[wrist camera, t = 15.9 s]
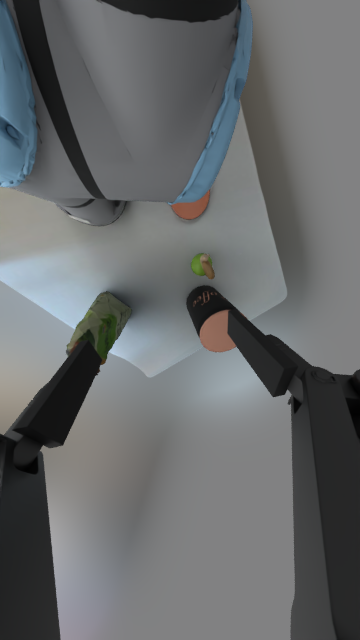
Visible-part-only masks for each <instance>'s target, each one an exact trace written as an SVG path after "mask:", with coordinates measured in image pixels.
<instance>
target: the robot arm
mask: <svg viewBox="0 0 360 640" xmlns="http://www.w3.org/2000/svg"><path fill="white" fill-rule="evenodd" d="M252 29H253V21H252V15H251V10H250V7H249V5H248V4H247V2H246V0H0V186H1V187H9V188H12V189H15V190H18V191H21V192H24V193H27V194H30V195H33V196H36V197H39V198H42V199H45V200H47V201H50V202H53V203H55V204H56V205H57V206H58V207H59V208H60V209H61V210H62V211H64V212H65V213H66V214H67V215H68V216H69V217H71V218H73V219H76V220H78V221H80V222H82V223H85V224H89V225H94V226H104V225H108V224H110V223H112V222H114V221H115V220H116V219H117V218H118V217H119V216H120V215H121V213H122V211H123V209H124V207H125V204H126V200H129V201H152V202H167V203H168V204H170V205H173V204H176V203H191V202H196V201H197V200H199V199H200V198H202V197H203V196H204V195H205V194H206V193H207V192H208V190H209V189H210V188H211V186H212V184H213V182H214V181H215V179H216V177H217V175H218V172H219V170H220V168H221V165H222V163H223V161H224V158H225V155H226V153H227V150H228V147H229V144H230V141H231V138H232V135H233V132H234V128H235V125H236V122H237V118H238V114H239V110H240V102H239V98H240V96H241V93H242V90H243V88H244V85H245V82H246V79H247V74H248V68H249V62H250V55H251V47H252ZM227 334H228V335H229V337H230V338H231V339H232V341H233V342H234V343H235V345H236V346H237V348H238V349H239V350H240V352H241V353H242V355H243V356H244V357H245V359H246V360H247V362H248V363H249V364H250V365H251V367H252V368H253V370H254V371H255V373H256V374H257V376H258V377H259V378H260V380H261V381H262V382H263V384H264V385H265V387H266V388H267V389H268V391H269V392H270V394H271V395H272V396H273V397H276V396H281V395H285V393H286V391H287V389H288V390H289V391H290V393H291V394H292V395H291V397H290V399H289V401H288V404H289V405H290V404H291V421H292V469H293V515H294V561H295V596H294V601H293V605H292V610H291V640H360V370H357V371H356V372H355V373H354V374H353V375H340V374H332V373H331V372H329V371H327V370H325V369H323V368H320V367H314V366H312V365H310V364H309V363H308V362H306V361H305V360H304V359H303V358H302V357H300V356H299V355H298V354H297V353H296V352H294V351H293V350H292V349H291V348H289V346H287V345H286V344H284V342H282V341H281V340H280V339H279V338H277V337H275V336H273V335H271V334H270V335H264V334H263V333H262V332H261V331H260V330H259V329H257V328H256V327H255V326H254V325H253V324H252V323H251V322H250V321H249V320H248V319H247V318H245V317H244V316H243V315H242V314H241V313H240V312H239V311H238V310H237V309H233V310H229V311H228V329H227ZM102 361H103V360H102V358H101V357H100V355H99V354H98V353H97V351H96V350H95V348H94V347H93V345H92V344H91V342H90V341H89V340H85V341H80V343H79V344H78V345H77V346H76V348H75V349H74V350H73V352H72V353H71V354H70V355H69V357H68V358H67V359H66V361H65V362H64V363H63V365H62V366H61V367H60V368H59V370H58V371H57V372H56V374H55V375H54V376H53V378H52V379H51V380H50V381H49V383H47V384H46V385H45V386H44V387H43V388H41V389H40V390H39V392H38V393H37V394H36V395H35V397H34V398H33V400H31V402H30V403H29V404H28V407H26V408H25V409H24V411H23V412H22V413H21V414H20V415H19V417H18V418H17V419H16V421H15V422H14V423H13V424H12V426H11V427H10V428H9V429H8V431H7V432H6V433H5V434H4V435H1V434H0V640H60V629H59V619H58V608H57V598H56V587H55V577H54V567H53V556H52V545H51V534H50V525H49V515H48V503H47V494H46V483H45V471H44V461H43V454H42V452H41V451H40V449H41V447H42V446H43V445H44V446H46V447H48V448H53V447H58V446H62V445H63V444H64V442H65V440H66V438H67V435H68V433H69V431H70V429H71V427H72V425H73V423H74V420H75V418H76V416H77V414H78V412H79V410H80V408H81V406H82V403H83V401H84V399H85V397H86V395H87V393H88V390H89V388H90V386H91V384H92V382H93V380H94V378H95V376H96V374H97V371H98V369H99V367H100V365H101V363H102Z"/></svg>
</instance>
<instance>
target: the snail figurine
mask: <svg viewBox="0 0 360 640" xmlns="http://www.w3.org/2000/svg"><path fill="white" fill-rule="evenodd" d="M191 268H192V271H193V272H194V273H195V274H196V275H199V276H204V275H206V276H207V277H208V278H209V279H213V278H214V277H215V273H214V270H213V268H212V260H211V258H210V255H209V254H204V253H201V254H198V255H196V256H195V257H194V258H193V260H192V263H191Z"/></svg>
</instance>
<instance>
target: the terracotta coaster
mask: <svg viewBox="0 0 360 640" xmlns="http://www.w3.org/2000/svg"><path fill="white" fill-rule="evenodd" d="M209 196H210V189H209V190H208V192H207V193H206V194H205V195H204V196H203V197H202V198H200V199H199V200H197V201H196V202H191V203H176V204H173V205H171V206H172V208H173V210H174V212H175V213H176V214H177V215H178V216H179V217H181V218H183V219H186V220H191V219H194V218H197V217H198V216H199V215H201V214H202V213H203V211H204V210H205V208H206V206H207V204H208V201H209Z"/></svg>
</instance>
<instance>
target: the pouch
mask: <svg viewBox="0 0 360 640" xmlns="http://www.w3.org/2000/svg"><path fill="white" fill-rule="evenodd" d="M131 310H132V309H131V308H129V307H127V306H126V305H124V304H123V303H122V302H120V301H119V300H118V299H116V298H115V297H114V296H113V295H112V294H111V293H109V292H107V291H106V292H103V293H101V294H99V295H98V296H97V298H96V299H95V301H94V302H93V304H92V305H91V307H90V308H89V310H88V312H87V313H86V315H85V317H84V319H82V321H80V322H79V324H78V325H77V327H76V330H75V332H74V334H73V336H72V338H71V341H70V343H69V344H68V345H67V350H66V354H67V356H68V357H69V355H70V354H71V353H72V352H73V350H74V349H75V348H76V346H77V345H78V344H79V343H80V341H85V340H89V341H90V342H91V344H92V345H93V347H94V348H95V350H96V351H97V353H98V354H99V355H100V357H101V358H102V360H103V361H102V363H101V365H103V364H104V363H105V361H106V359H107V354H108V351H109V350H110V349H111V348H112V346H113V344H114V342H115V340H117V339H118V337H119V336H120V334H121V332H122V329H123V328H124V327H125V324H126V323H127V321H128V319H129V317H130V315H131ZM99 372H100V370H99V369H98V371H97V373H99ZM96 375H98V374H96ZM91 385H92V384H91ZM90 387H91V386H90Z"/></svg>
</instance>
